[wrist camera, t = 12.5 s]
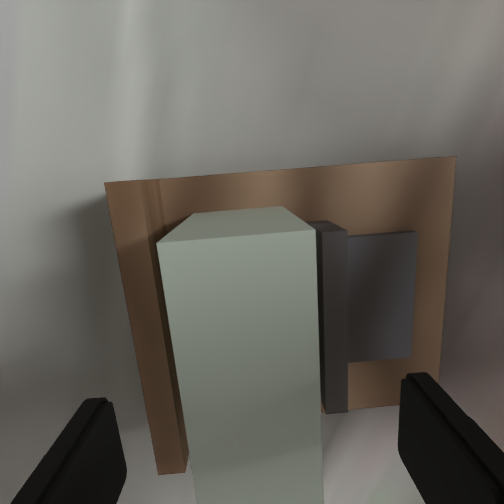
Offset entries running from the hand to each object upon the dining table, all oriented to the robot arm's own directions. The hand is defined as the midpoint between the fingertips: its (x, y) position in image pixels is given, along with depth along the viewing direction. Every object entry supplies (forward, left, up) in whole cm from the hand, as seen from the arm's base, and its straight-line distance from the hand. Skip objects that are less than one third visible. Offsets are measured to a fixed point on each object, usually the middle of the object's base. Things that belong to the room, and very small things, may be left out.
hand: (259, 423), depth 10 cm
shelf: (-3, 0, -11) cm, 11 cm away
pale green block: (0, 0, -9) cm, 9 cm away
